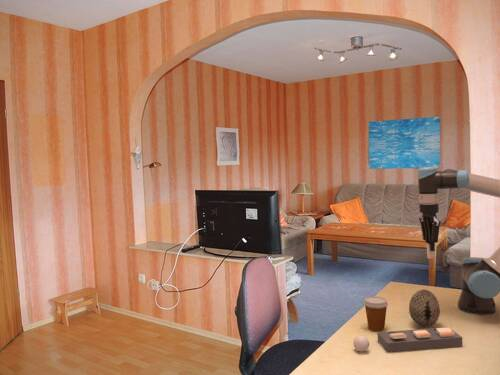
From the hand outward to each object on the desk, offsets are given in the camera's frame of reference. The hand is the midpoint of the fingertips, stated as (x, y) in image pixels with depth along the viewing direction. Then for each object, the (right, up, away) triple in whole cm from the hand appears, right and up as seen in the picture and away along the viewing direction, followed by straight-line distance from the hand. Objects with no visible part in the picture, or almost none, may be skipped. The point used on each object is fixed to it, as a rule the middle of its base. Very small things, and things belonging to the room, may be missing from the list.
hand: (431, 257), depth 189 cm
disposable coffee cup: (-26, -28, -8) cm, 39 cm away
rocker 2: (-6, -23, -26) cm, 35 cm away
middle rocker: (-15, -24, -27) cm, 39 cm away
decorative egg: (-6, -27, -8) cm, 29 cm away
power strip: (-14, -28, -24) cm, 40 cm away
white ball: (-36, -30, -27) cm, 54 cm away
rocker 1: (-23, -24, -28) cm, 44 cm away
